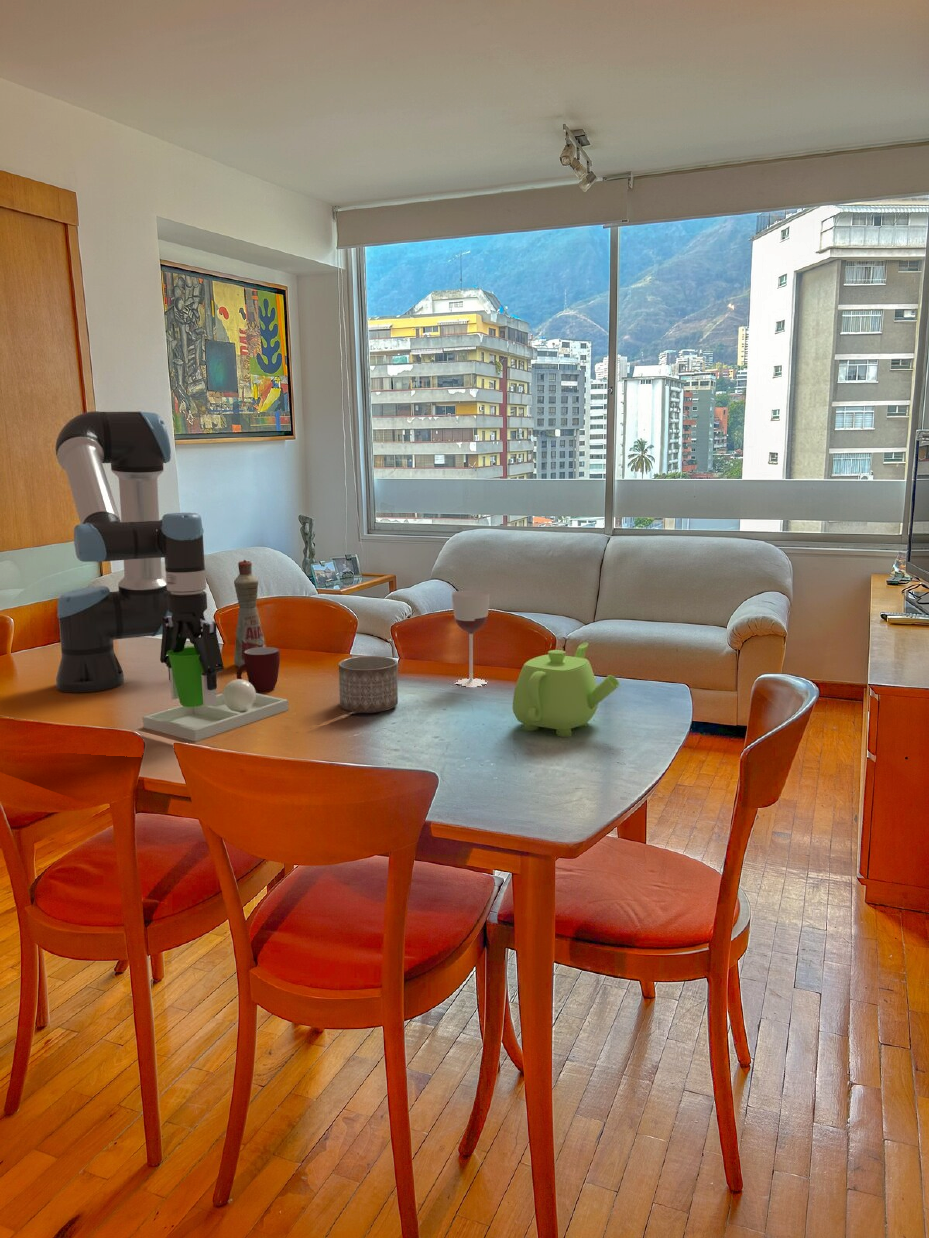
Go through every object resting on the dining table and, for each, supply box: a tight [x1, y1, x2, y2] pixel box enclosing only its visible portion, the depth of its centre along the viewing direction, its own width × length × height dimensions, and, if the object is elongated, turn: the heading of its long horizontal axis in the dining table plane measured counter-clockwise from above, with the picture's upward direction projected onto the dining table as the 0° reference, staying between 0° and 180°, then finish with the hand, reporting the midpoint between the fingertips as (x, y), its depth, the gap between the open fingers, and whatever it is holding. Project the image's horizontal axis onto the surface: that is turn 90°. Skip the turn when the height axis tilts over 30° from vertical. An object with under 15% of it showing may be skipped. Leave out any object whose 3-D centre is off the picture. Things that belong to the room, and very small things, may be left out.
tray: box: [142, 692, 290, 743], centre depth 188 cm, size 16×25×3 cm, turn 146°
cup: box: [166, 645, 210, 707], centre depth 181 cm, size 9×9×11 cm
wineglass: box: [451, 589, 490, 688], centre depth 216 cm, size 9×10×22 cm
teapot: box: [512, 642, 620, 738], centre depth 183 cm, size 25×22×16 cm
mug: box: [236, 646, 281, 693], centre depth 208 cm, size 10×8×10 cm
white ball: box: [221, 678, 257, 712], centre depth 192 cm, size 7×7×7 cm
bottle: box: [233, 559, 267, 669], centre depth 233 cm, size 9×9×28 cm
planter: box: [338, 655, 399, 714], centre depth 197 cm, size 13×13×10 cm
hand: (193, 701), depth 182 cm, fingers closed on cup, 9 cm apart
